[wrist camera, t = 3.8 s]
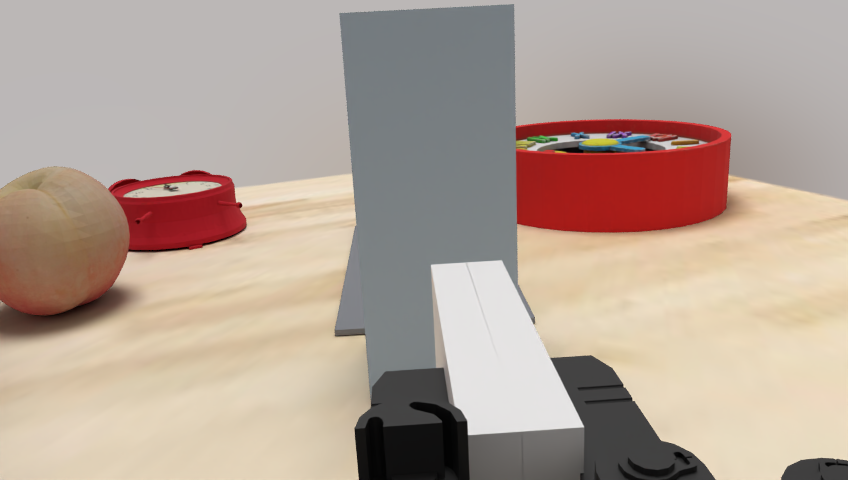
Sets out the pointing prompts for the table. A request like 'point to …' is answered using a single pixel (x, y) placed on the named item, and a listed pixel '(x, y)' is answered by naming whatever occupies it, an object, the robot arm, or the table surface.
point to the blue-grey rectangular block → (427, 162)
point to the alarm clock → (179, 210)
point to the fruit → (59, 241)
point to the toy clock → (620, 174)
